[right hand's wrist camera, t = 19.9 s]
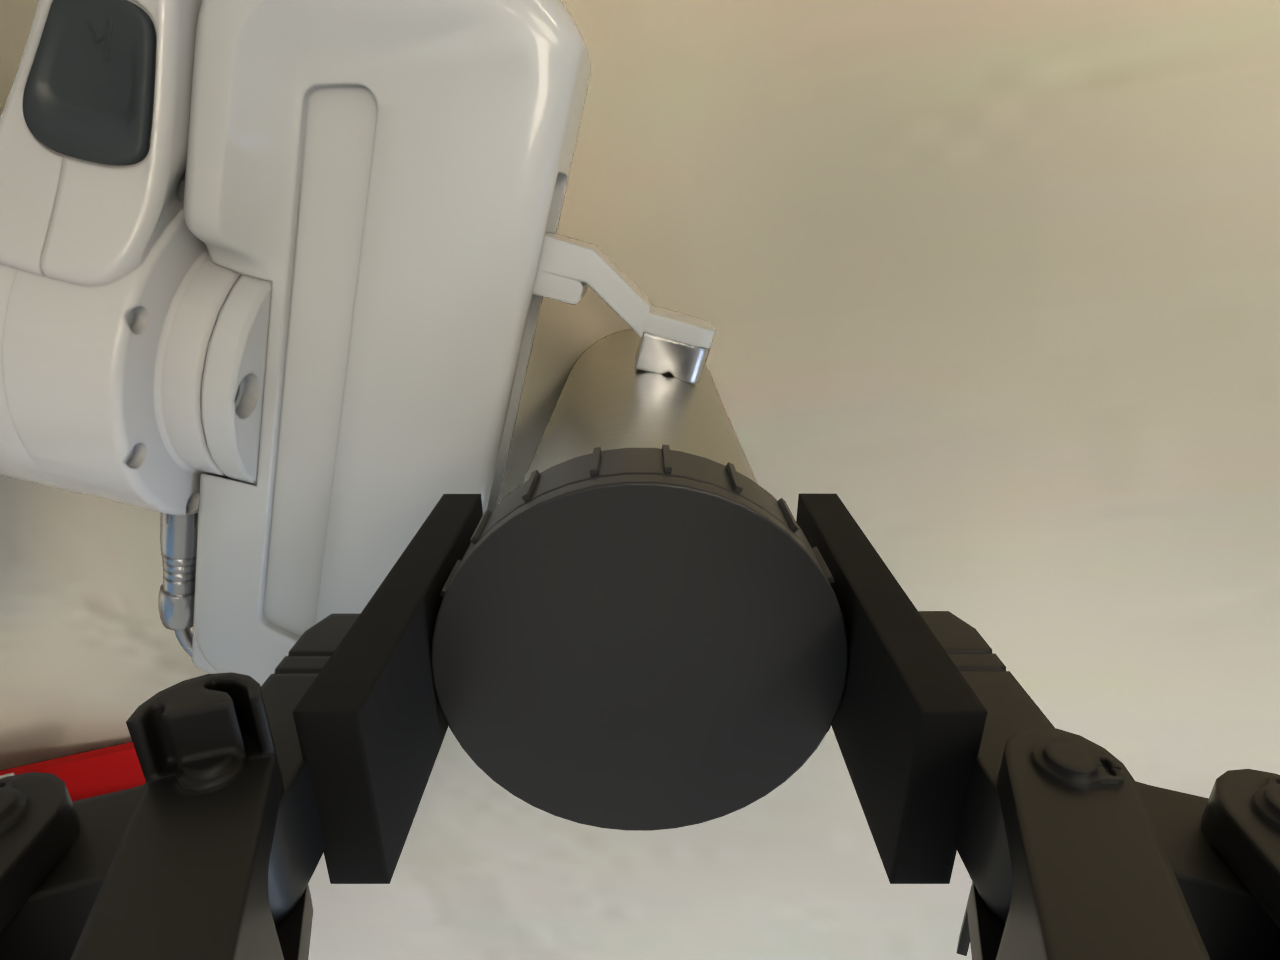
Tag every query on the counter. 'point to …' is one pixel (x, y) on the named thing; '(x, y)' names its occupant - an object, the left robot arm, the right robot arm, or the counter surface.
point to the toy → (91, 771)
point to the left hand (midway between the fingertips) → (670, 469)
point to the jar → (635, 411)
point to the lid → (639, 641)
